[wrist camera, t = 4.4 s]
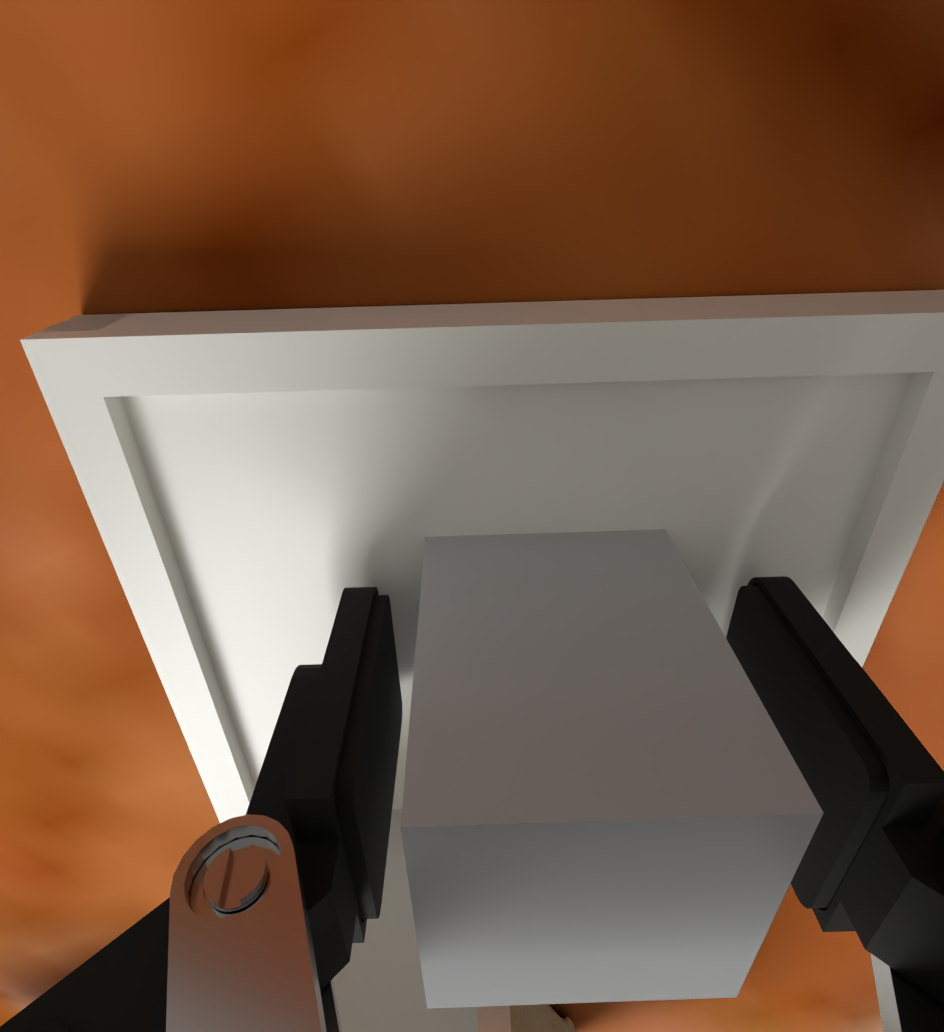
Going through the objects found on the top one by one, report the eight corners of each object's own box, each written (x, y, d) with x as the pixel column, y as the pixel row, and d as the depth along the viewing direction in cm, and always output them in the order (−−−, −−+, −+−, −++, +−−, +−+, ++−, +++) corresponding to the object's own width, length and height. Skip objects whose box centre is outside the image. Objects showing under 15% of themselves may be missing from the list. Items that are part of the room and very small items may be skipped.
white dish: (943, 289, 9) (1019, 310, 8) (723, 888, 18) (742, 940, 17) (79, 314, 9) (20, 339, 8) (288, 903, 18) (275, 957, 16)
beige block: (472, 798, 14) (479, 1093, 9) (502, 889, 16) (519, 1164, 11) (305, 822, 14) (238, 1117, 10) (355, 907, 16) (319, 1182, 12)
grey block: (665, 529, 10) (824, 813, 6) (636, 696, 12) (736, 997, 8) (425, 537, 10) (400, 827, 6) (438, 703, 12) (427, 1008, 8)
